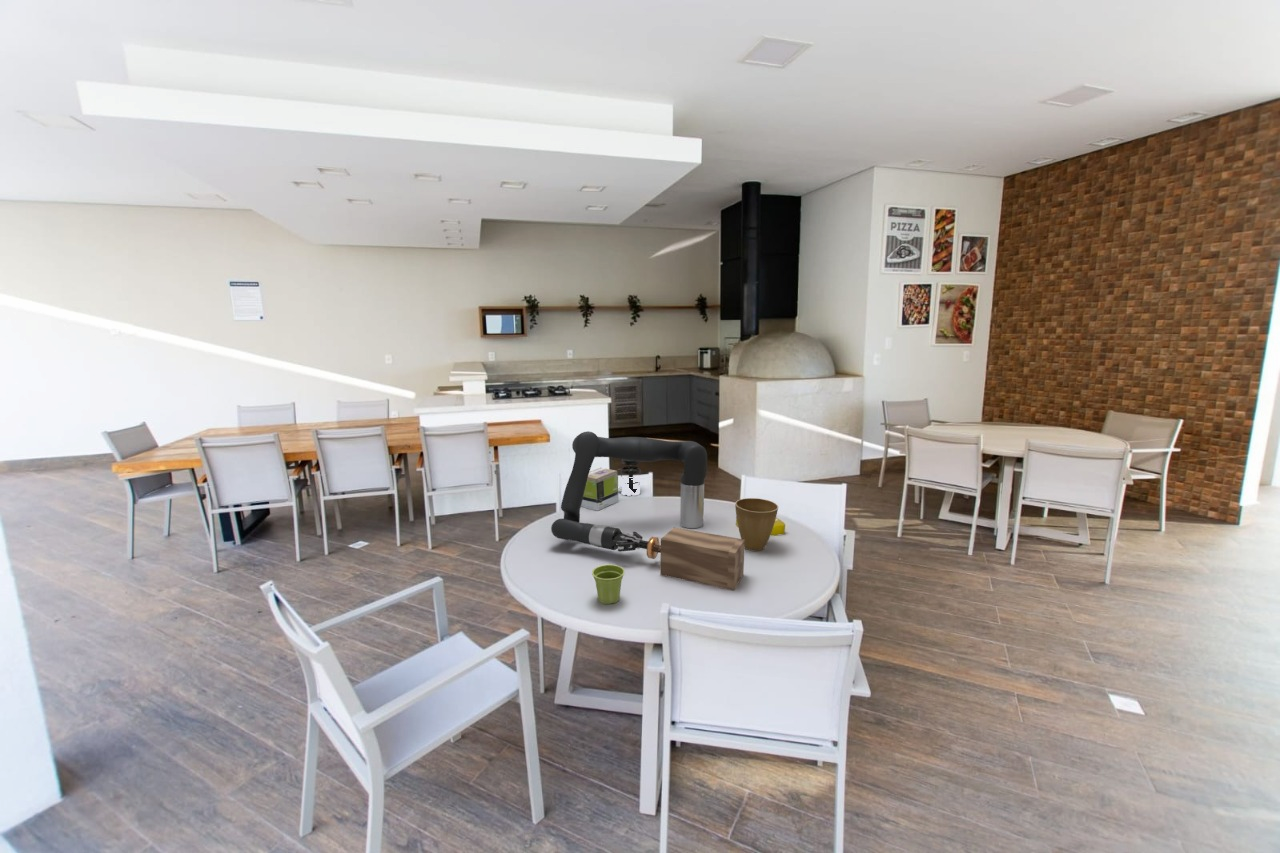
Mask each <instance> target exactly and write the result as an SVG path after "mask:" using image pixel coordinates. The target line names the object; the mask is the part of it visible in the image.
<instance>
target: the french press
mask: <svg viewBox="0 0 1280 853" xmlns="http://www.w3.org/2000/svg"><path fill="white" fill-rule="evenodd" d="M620 460H621V463H622V465H626V466H622V467H621V468H617V469H616V471H617V473H618V474H619V471H620V472H621V473H620V474H621V475H620V477H622V478H623V474H627V475H628V478H629V477H633V478H634V475H635V474H640V473H641V467H639V466H636V465H638V463H639V461H629V460H622V459H620ZM633 478H629V483H627V484H629V488H630V489H631V490H632V491H633V492H634V493H635V492H636V490H637V489H633V484H639V482H635V483H633V480H631V479H633Z"/></svg>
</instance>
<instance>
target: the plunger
mask: <svg viewBox="0 0 1280 853" xmlns="http://www.w3.org/2000/svg"><path fill="white" fill-rule="evenodd" d="M647 541H648V544H647V549H646V557H647V558H648V559H652V560H655V559H656V558H657V557H658V554H661V541H660V538H659V537H657V536H651V537H650V538H649V540H647Z"/></svg>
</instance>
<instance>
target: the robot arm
mask: <svg viewBox="0 0 1280 853" xmlns="http://www.w3.org/2000/svg"><path fill="white" fill-rule="evenodd" d="M571 446H572V450H573V453H575V456H574V462H573V465H572V470H571V472H570V475H569V477H568V480H567V483H566V486H565V489H564V492H563V496H562V500H561V504H560V509H561V511H562V512H563V518H558V519H556V520H554V522H553V523H552V524H551V528H550V529H551V531H550V532H551V533H552V535H553V536H554V537H555V538H557V539H559V540H560V539H561V540H566V541H574V542H578V543H581V544H584V545H585V544H586V545H591V546H594V547H597V548H601V549H605V550H606V549H607V550H610V551H611V550H612V551H618V552H631V551H632V552H633V551H636V550H637V549H642V550H643V549H644V550H647V544H648V541H649V540H643V536H642V535H641V534H640V533H639V532H637V531H632V534H630V533H624V532H622V531H621V529H620V528H618V527H615V526H614V527H613V526H609V525H602V524H593V523H588V522H580V521H581V520H580V518H581V514H580V511H581V508H582V507H581V504H582V500H583V496H584V491H585V487H586V483H587V478H588V475H589V472H590V471H591V468H592V465H593V462H594V460H595V458H611V459H612V458H613V459H618V460H621V459H622V460H629V461H639V462H641V463H653V462H658V461H664V460H665V461H666V460H668V461H676V462H682V463H683V473H682V474H681V476H680V510H679V511H680V514H679V524H680V526H682V527H683V528H686V529H699V528H702V527H703V526H704V513H705V512H704V510H705V509H704V508H705V480H706V477H707V470H708V468H707V467H708V453H707V452H708V451H707V450H706V448H705V446H702V445H701V444H700V443H698V442H697V441H693V440H682V441H681V440H680V441H677V440H676V441H675V440H673V441H670V440H663V439H657V438H651V437H640V436H639V437H638V436H625V437H624V436H623V437H602V436H598V435H597V434H596V433H594V432H592V431H589V430H588V431H583V432H581V433H579V434H578V435H576V437H575V438H574V439H573V441H572V445H571ZM622 460H621V461H622ZM639 462H638V463H639Z"/></svg>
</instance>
